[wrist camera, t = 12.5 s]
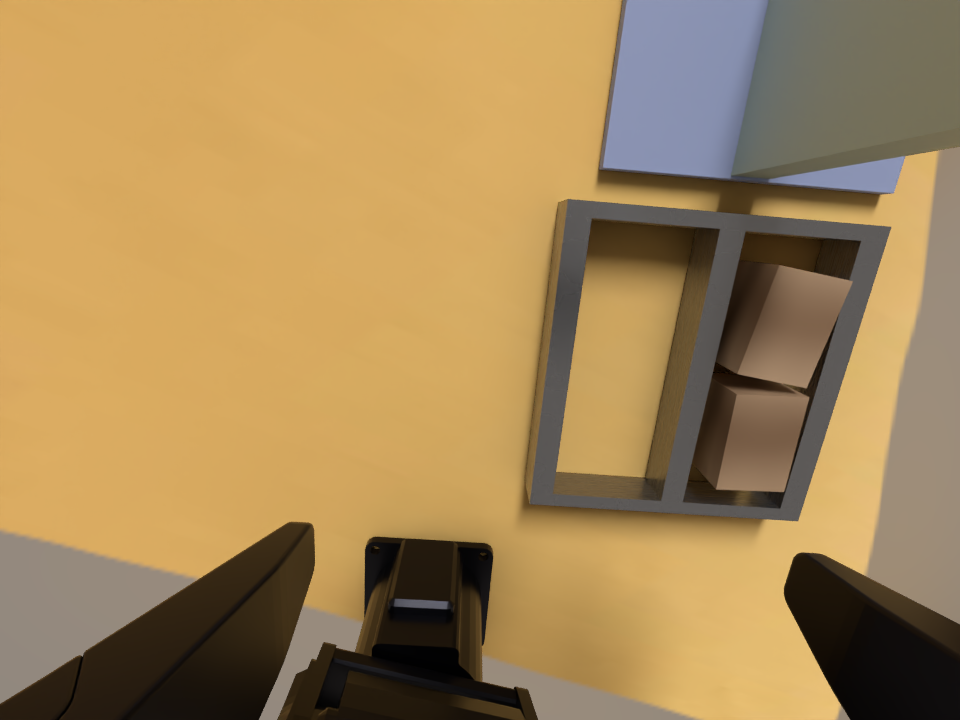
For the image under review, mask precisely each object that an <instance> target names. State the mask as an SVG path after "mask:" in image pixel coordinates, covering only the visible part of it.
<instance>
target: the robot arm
mask: <svg viewBox="0 0 960 720" xmlns="http://www.w3.org/2000/svg"><path fill="white" fill-rule="evenodd" d="M373 546H377V547H379V548H380V549H374V548H373ZM480 553H487V554H486V555H484V556H482V555H480ZM492 563H493V550H492V548H491V546H490V545H488V544H485V543H471V542H455V541H439V540H422V539H405V538H388V537H373V538H371V539H369V541H368V542H367V545H366V549H365V611H364V622H363V625H362V629H361V632H360V636H359V639H358V643H357V646H356V650H355V652H351V651H347V650H343V649H339V648H336V645H334V644H330V643H325V642H324V643H323V645H322V647H321V650H320V652H319V655H318V657H317V660H315V659H312V660H311V662H310V664H309V667H308V669H306V670H304V671H302V672H300V673H297V674H296V676H295V678H294V681H293V683H292V686H291V688H290V691H289V693H288V696H287V699H286V701H285V703H284V706H283V708H282V710H281V713H280V715H279V717H278V719H277V720H538V718H537V715H536V712H535V709H534V706H533V703H532V700H531V697H530V694H529V691H528V690H527V689H523V688H518V687H514V689H511V688H507V687H503V686H498V685H494V684H490V683H485V682H482V645H483V644H484V639H485V630H486V620H487V611H488V601H489V592H490V582H491V572H492ZM314 566H315V544H314V528H313V525H312V524H311V523H305V522H289V523H287V524H285V525H283V526H282V527H280V528H279V529H277V530H276V531H274V532H272V533H271V534H269V535H268V536H266V537H264V538H263V539H261V540H260V541H258V542H257V543H255V544H253V545H252V546H250V547H249V548H247V549H246V550H244V551H242V552H241V553H239V554H238V555H236V556H234V557H233V558H231V559H230V560H228V561H227V562H225V563H223V564H222V565H220V566H219V567H217V568H216V569H214V570H212V571H211V572H209V573H208V574H206V575H205V576H203V577H201V578H200V579H198V580H197V581H195V582H193V583H192V584H190V585H189V586H187V587H186V588H184V589H183V590H181V591H179V592H178V593H176V594H175V595H173V596H171V597H170V598H168V599H167V600H165V601H163V602H162V603H160V604H159V605H157V606H156V607H154V608H153V609H151V610H149V611H148V612H146V613H145V614H143V615H141V616H140V617H139V618H137V619H135V620H134V621H132V622H130V623H129V624H127V625H126V626H124V627H123V628H121V629H119V630H118V631H116V632H115V633H113V634H112V635H110V636H108V637H107V638H105V639H104V640H102V641H100V642H99V643H97V644H96V645H94V646H92V647H91V648H90V649H88V650H86V651H85V652H84V655H83V657H82V656H80V655H79V656H77V657H75V658H73V659H72V660H70V661H69V662H67V663H65V664H64V665H62V666H61V667H59V668H57V669H56V670H54V671H53V672H51V673H50V674H48V675H46V676H45V677H43V678H42V679H40V680H38V681H37V682H35V683H33V684H32V685H30V686H29V687H27V688H25V689H24V690H22V691H20V692H19V693H17V694H15V695H14V696H12V697H11V698H9V699H7V700H6V701H4V702H2V703H1V704H0V720H259V718H260V716H261V713H262V711H263V709H264V707H265V704H266V702H267V700H268V698H269V695H270V693H271V691H272V689H273V686H274V684H275V682H276V680H277V677H278V675H279V672H280V670H281V668H282V665H283V663H284V660H285V657H286V655H287V651H288V649H289V646H290V642H291V640H292V636H293V634H294V630H295V627H296V624H297V621H298V618H299V615H300V612H301V609H302V606H303V603H304V600H305V597H306V594H307V591H308V588H309V585H310V582H311V578H312V575H313V571H314ZM784 597H785V600H786V603H787V605H788V607H789V609H790V611H791V613H792V614H793V616H794V618H795V620H796V622H797V624H798V626H799V628H800V630H801V632H802V634H803V636H804V638H805V639H806V641H807V643H808V645H809V647H810V649H811V651H812V653H813V655H814V657H815V659H816V661H817V663H818V664H819V666H820V668H821V670H822V672H823V674H824V676H825V678H826V680H827V681H828V683H829V685H830V687H831V689H832V691H833V692H834V694H835V696H836V697H837V699H838V701H839V702H840V704H841V706H842V707H843V709H844V710H845V712H846V713H847V715H848V717H849V718H850V720H960V624H958V623H956V622H954V621H952V620H950V619H948V618H946V617H944V616H942V615H940V614H938V613H936V612H934V611H933V610H931V609H929V608H927V607H925V606H923V605H921V604H919V603H917V602H915V601H913V600H911V599H909V598H907V597H905V596H903V595H901V594H899V593H897V592H895V591H893V590H891V589H889V588H887V587H886V586H884V585H881V584H880V583H877V582H876V581H874V580H872V579H870V578H868V577H866V576H864V575H862V574H860V573H858V572H856V571H854V570H852V569H850V568H848V567H846V566H845V565H843V564H841V563H839V562H837V561H835V560H833V559H831V558H829V557H827V556H825V555H822V554H817V553H798V554H797V555H796V556H795V557H794V558H793V561H792V564H791V567H790V570H789V573H788V577H787V580H786V583H785V586H784Z"/></svg>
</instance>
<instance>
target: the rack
mask: <svg viewBox="0 0 960 720" xmlns="http://www.w3.org/2000/svg"><path fill="white" fill-rule="evenodd" d="M591 220H596V221H608V222H619V223H631V224H643V225H655V226H667V227H679V228H690V229H696V231H695V236H694V241H693V246H692V251H691V256H690V261H689V265H688V270H687V275H686V280H685V285H684V290H683V295H682V300H681V305H680V310H679V315H678V320H677V324H676V329H675V334H674V339H673V344H672V349H671V354H670V359H669V364H668V369H667V374H666V379H665V384H664V388H663V393H662V398H661V403H660V408H659V413H658V418H657V423H656V428H655V433H654V438H653V443H652V447H651V452H650V457H649V462H648V467H647V472H646V477H645V478H638V477H623V476H608V475H592V474H577V473H562V472H556V468H557V461H558V454H559V447H560V440H561V433H562V425H563V418H564V411H565V404H566V397H567V390H568V383H569V376H570V369H571V362H572V355H573V348H574V341H575V334H576V326H577V319H578V312H579V305H580V298H581V291H582V284H583V277H584V270H585V263H586V256H587V249H588V242H589V234H590V227H591ZM890 230H891V227H886V226H874V225H863V224H851V223H839V222H828V221H816V220H804V219H793V218H781V217H770V216H758V215H746V214H735V213H723V212H711V211H700V210H688V209H676V208H665V207H653V206H642V205H630V204H618V203H607V202H595V201H583V200H572V199H567V200H564V201H561V202H558V210H557V219H556V227H555V235H554V244H553V252H552V260H551V268H550V277H549V285H548V293H547V301H546V310H545V318H544V326H543V335H542V343H541V351H540V359H539V368H538V376H537V384H536V392H535V401H534V409H533V417H532V426H531V434H530V442H529V450H528V459H527V467H526V475H525V484H526V489H527V494H528V499H529V504H534V505H550V506H566V507H582V508H598V509H613V510H629V511H645V512H661V513H676V514H692V515H708V516H724V517H740V518H755V519H771V520H787V521H798V520H799V516H800V513H801V510H802V507H803V504H804V501H805V497H806V494H807V491H808V488H809V485H810V482H811V479H812V475H813V472H814V469H815V466H816V463H817V460H818V456H819V453H820V450H821V447H822V444H823V441H824V438H825V434H826V431H827V428H828V425H829V422H830V419H831V416H832V412H833V409H834V406H835V403H836V400H837V397H838V393H839V390H840V387H841V384H842V381H843V378H844V375H845V371H846V368H847V365H848V362H849V359H850V356H851V353H852V349H853V346H854V343H855V340H856V337H857V334H858V330H859V327H860V324H861V321H862V318H863V315H864V312H865V308H866V305H867V302H868V299H869V296H870V293H871V290H872V286H873V283H874V280H875V277H876V274H877V271H878V267H879V264H880V261H881V258H882V255H883V252H884V249H885V245H886V242H887V239H888V236H889V233H890ZM745 233H750V234H761V235H773V236H785V237H797V238H809V239H821V240H823V243H822V246H821V250H820V253H819V257H818V261H817V264H816V268H815V271H814V273H818V274H822V275H827V276H831V277H836V278H840V279H844V280H849V281H853V283H852V285H851V287H850V290H849V292H848V294H847V296H846V299H845V301H844V303H843V306H842V308H841V310H840V313H839V315H838V317H837V319H836V322H835V324H834V326H833V329H832V331H831V333H830V336H829V338H828V340H827V343H826V345H825V347H824V349H823V352H822V354H821V356H820V359H819V361H818V363H817V366H816V368H815V370H814V372H813V375H812V377H811V379H810V382H809V384H808V386H807V388H803V387H798V386H793V385H788V384H784V385H786V386H788V387H790V388H792V389H794V390H796V391H798V392H800V393H802V394H804V395H806V396H808V397H809V401H808V405H807V408H806V412H805V416H804V420H803V423H802V427H801V431H800V435H799V438H798V442H797V446H796V450H795V453H794V457H793V461H792V464H791V468H790V472H789V476H788V479H787V483H786V487H785V491H784V492H771V491H745V490H718V489H715V488H714V487H713V485H712V484H711V483H710V482H699V481H688V477H689V473H690V468H691V464H692V460H693V455H694V451H695V447H696V443H697V438H698V434H699V430H700V425H701V421H702V417H703V413H704V408H705V404H706V400H707V395H708V391H709V387H710V382H711V378H712V374H713V370H714V365H715V361H716V357H717V352H718V348H719V344H720V339H721V335H722V331H723V327H724V322H725V318H726V314H727V309H728V305H729V301H730V297H731V292H732V288H733V284H734V279H735V275H736V271H737V266H738V262H739V258H740V254H741V249H742V245H743V241H744V236H745Z"/></svg>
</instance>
